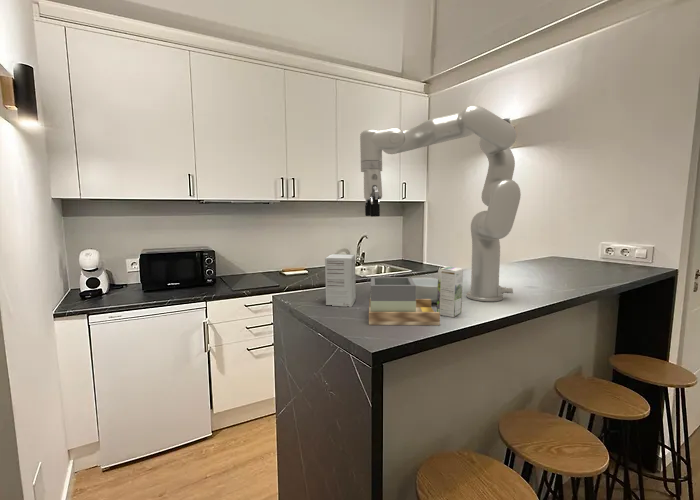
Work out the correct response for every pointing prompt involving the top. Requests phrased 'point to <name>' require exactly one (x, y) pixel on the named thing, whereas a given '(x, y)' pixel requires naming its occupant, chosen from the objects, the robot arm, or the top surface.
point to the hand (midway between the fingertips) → (372, 216)
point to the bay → (407, 315)
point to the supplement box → (340, 279)
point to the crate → (393, 294)
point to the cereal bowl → (426, 288)
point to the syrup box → (449, 291)
